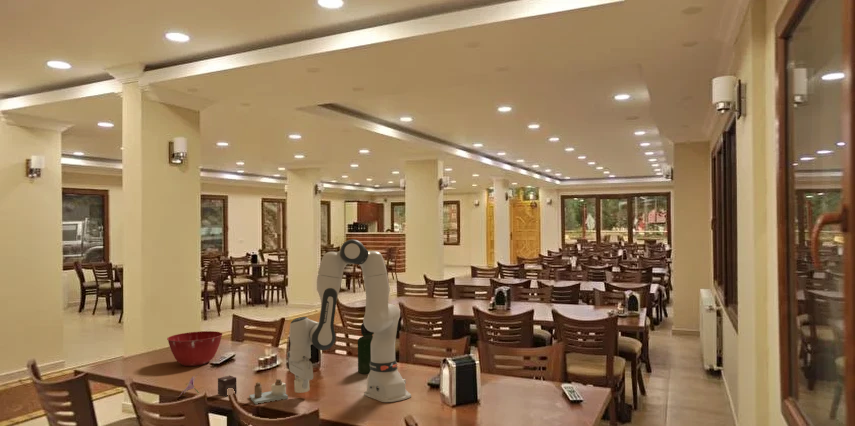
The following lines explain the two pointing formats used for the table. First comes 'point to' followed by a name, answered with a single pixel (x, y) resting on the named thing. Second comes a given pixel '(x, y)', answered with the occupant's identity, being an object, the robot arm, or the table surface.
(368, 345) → the spray bottle
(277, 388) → the stand
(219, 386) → the box
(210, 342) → the mixing bowl
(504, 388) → the table surface
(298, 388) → the ring
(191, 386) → the lily
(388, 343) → the robot arm
